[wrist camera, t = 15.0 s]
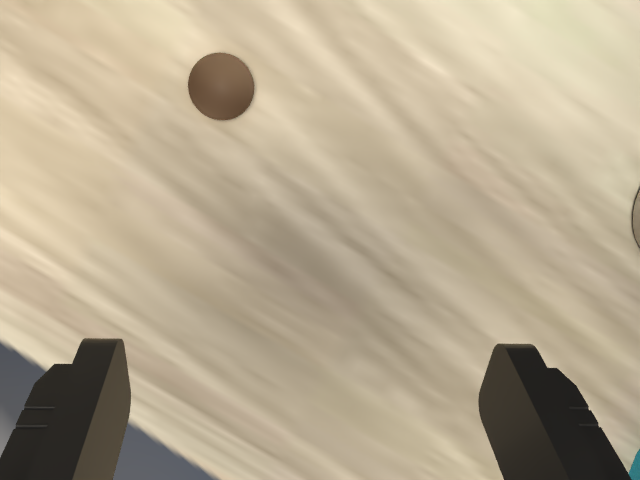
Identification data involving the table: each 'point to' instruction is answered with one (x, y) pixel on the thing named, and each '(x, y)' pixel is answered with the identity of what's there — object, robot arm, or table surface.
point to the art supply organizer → (635, 468)
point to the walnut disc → (221, 86)
